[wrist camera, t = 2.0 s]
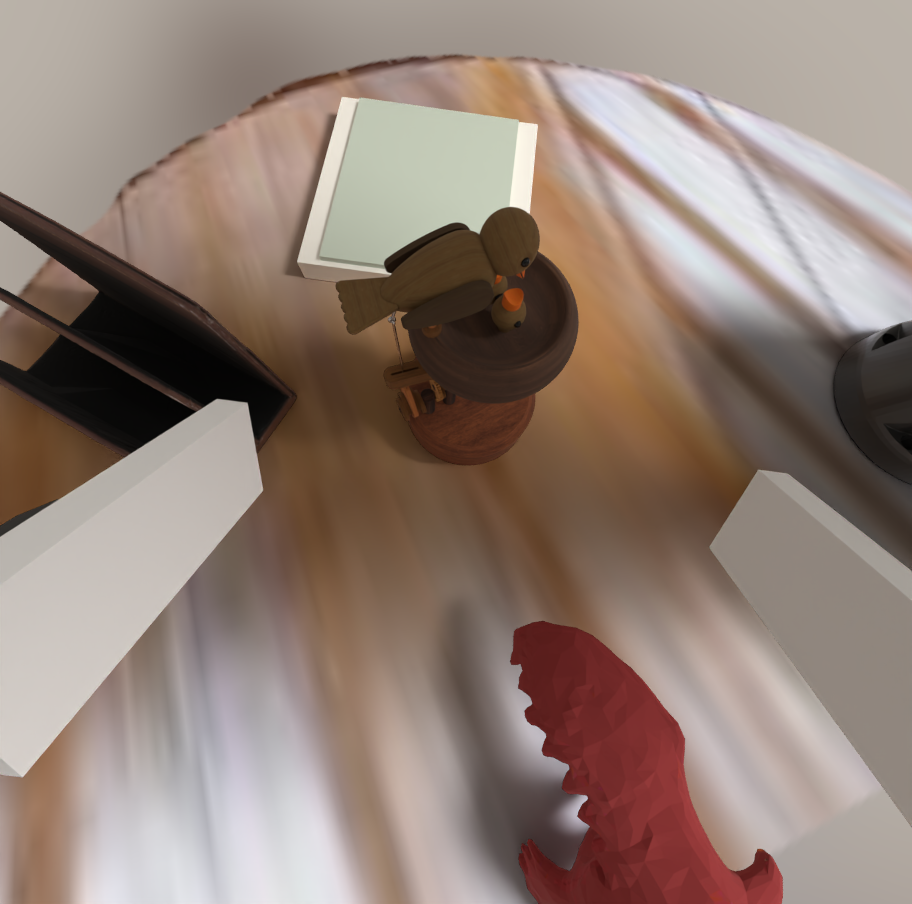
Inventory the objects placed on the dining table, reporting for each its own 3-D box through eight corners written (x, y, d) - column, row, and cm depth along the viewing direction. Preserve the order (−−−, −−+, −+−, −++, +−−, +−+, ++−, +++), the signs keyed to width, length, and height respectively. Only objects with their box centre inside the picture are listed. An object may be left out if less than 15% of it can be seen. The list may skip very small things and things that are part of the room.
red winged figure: (674, 993, 27) (980, 1108, 18) (647, 1224, 20) (1137, 1614, 11) (470, 625, 32) (626, 570, 23) (391, 701, 25) (571, 664, 16)
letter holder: (116, 294, 34) (-101, 124, 20) (301, 397, 32) (199, 287, 19) (34, 383, 32) (-276, 257, 18) (228, 498, 30) (50, 457, 16)
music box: (440, 507, 30) (408, 393, 11) (369, 406, 33) (246, 178, 14) (583, 405, 33) (753, 174, 14) (505, 320, 36) (558, 31, 17)
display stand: (533, 144, 40) (539, 119, 38) (517, 306, 35) (523, 288, 33) (346, 118, 40) (340, 91, 37) (304, 277, 35) (294, 257, 32)
